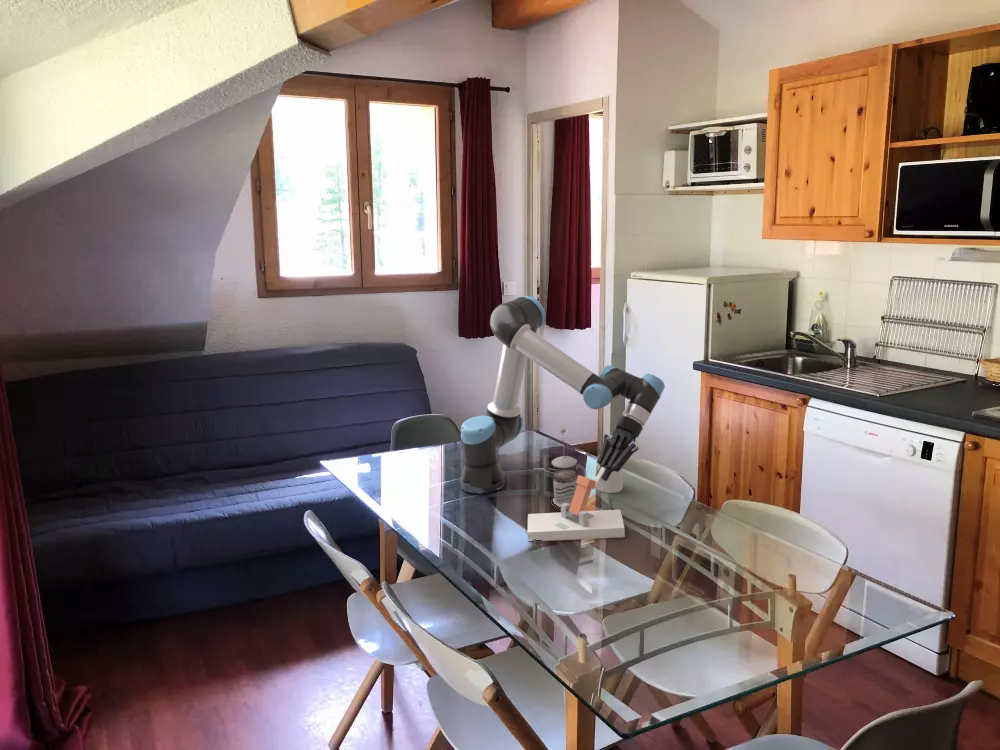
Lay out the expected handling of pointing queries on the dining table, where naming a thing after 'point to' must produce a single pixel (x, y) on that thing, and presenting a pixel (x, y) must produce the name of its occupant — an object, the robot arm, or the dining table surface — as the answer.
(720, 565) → the dining table surface
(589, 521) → the white switch base plate
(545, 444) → the dining table surface
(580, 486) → the lever
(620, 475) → the pill bottle
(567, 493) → the french press
